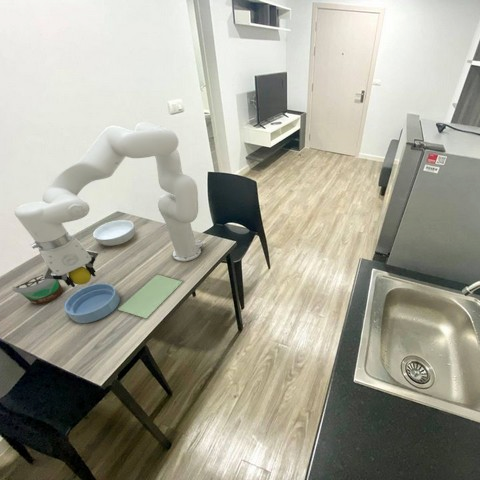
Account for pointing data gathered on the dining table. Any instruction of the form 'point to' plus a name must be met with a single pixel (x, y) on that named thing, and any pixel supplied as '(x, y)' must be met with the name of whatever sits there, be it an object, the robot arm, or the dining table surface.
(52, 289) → the food container
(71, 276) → the lemon
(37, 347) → the dining table surface
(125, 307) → the napkin
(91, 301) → the bowl
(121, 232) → the cereal bowl
